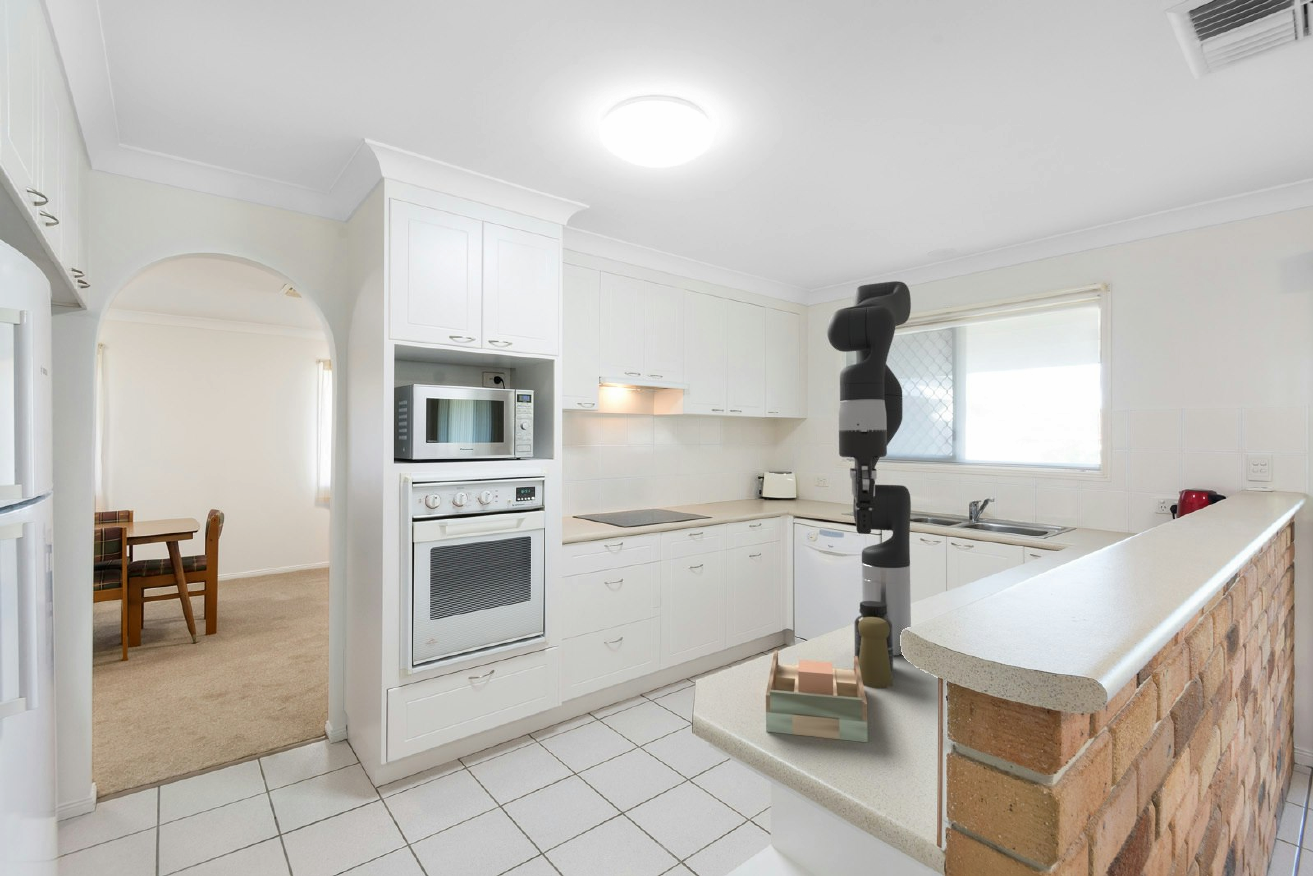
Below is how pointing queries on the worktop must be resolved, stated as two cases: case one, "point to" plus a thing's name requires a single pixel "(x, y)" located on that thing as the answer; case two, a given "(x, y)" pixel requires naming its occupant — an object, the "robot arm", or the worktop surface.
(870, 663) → the cork
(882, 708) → the worktop surface
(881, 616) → the supplement bottle
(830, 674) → the block
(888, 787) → the worktop surface
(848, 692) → the wooden organizer box
